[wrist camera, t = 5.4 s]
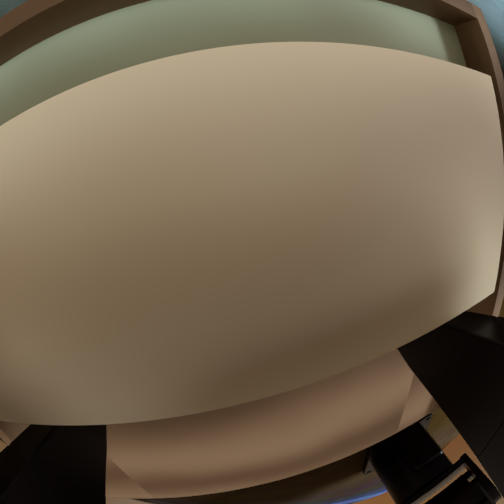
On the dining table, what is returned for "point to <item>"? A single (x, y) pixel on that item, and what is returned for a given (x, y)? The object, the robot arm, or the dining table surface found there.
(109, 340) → the cream rectangular block
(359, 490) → the dining table surface
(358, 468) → the dining table surface
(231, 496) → the dining table surface
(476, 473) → the robot arm
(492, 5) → the dining table surface
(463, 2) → the open tray box
